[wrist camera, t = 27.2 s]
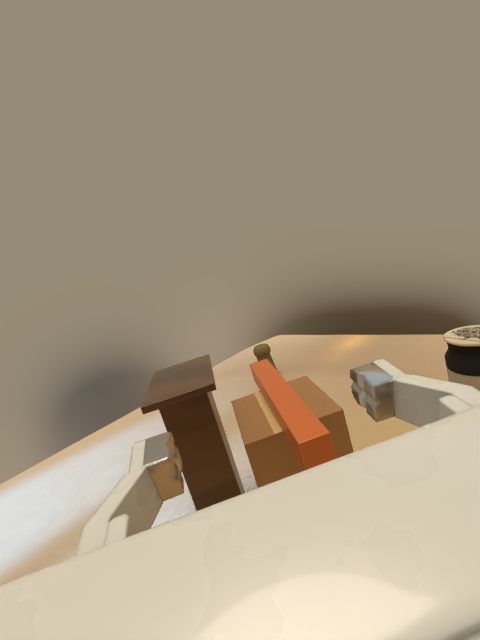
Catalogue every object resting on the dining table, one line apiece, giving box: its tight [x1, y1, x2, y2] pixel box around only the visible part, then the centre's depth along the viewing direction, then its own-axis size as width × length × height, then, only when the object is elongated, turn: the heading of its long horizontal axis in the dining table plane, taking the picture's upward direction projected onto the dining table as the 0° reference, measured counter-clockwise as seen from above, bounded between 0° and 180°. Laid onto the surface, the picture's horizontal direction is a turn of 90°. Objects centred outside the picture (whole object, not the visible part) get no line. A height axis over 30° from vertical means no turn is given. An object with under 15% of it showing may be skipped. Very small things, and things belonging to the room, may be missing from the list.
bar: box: [250, 359, 337, 470], centre depth 39 cm, size 24×3×3 cm, turn 8°
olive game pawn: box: [254, 344, 277, 370], centre depth 96 cm, size 6×6×11 cm
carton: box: [231, 376, 353, 488], centre depth 43 cm, size 12×12×18 cm
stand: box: [141, 355, 245, 511], centre depth 41 cm, size 12×8×26 cm, turn 8°
